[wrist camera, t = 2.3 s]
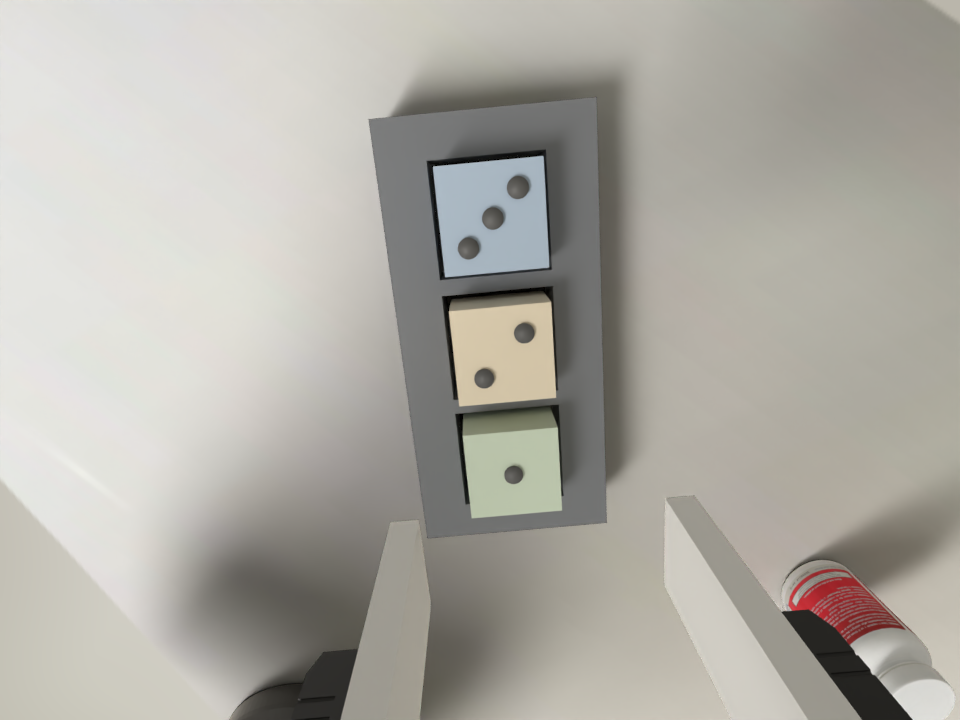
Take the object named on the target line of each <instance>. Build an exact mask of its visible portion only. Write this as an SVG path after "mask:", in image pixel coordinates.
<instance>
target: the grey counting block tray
mask: <svg viewBox="0 0 960 720" xmlns="http://www.w3.org/2000/svg"><path fill="white" fill-rule="evenodd" d="M369 126H370V133H371V140H372V147H373V154H374V161H375V168H376V175H377V182H378V190H379V197H380V204H381V211H382V218H383V225H384V232H385V239H386V246H387V254H388V261H389V268H390V275H391V282H392V289H393V296H394V303H395V310H396V318H397V325H398V332H399V339H400V346H401V353H402V360H403V367H404V374H405V381H406V389H407V396H408V403H409V410H410V417H411V424H412V431H413V438H414V445H415V453H416V460H417V467H418V474H419V481H420V488H421V495H422V502H423V509H424V517H425V524H426V531H427V538H439V537H450V536H461V535H473V534H484V533H496V532H507V531H519V530H530V529H541V528H553V527H564V526H576V525H587V524H599V523H607V514H606V473H605V431H604V389H603V348H602V306H601V264H600V223H599V181H598V139H597V98H596V97H591V98H581V99H570V100H560V101H550V102H540V103H529V104H519V105H509V106H499V107H488V108H478V109H468V110H458V111H447V112H437V113H427V114H417V115H406V116H396V117H386V118H376V119H369ZM529 155H538V156H544V174H545V193H546V212H547V231H548V250H549V268H540V269H529V270H518V271H508V272H497V273H486V274H476V275H465V276H454V277H445V273H444V272H443V266H442V257H441V248H440V239H439V230H438V221H437V212H436V203H435V194H434V185H433V176H432V167H431V165H436V164H446V163H457V162H467V161H477V160H488V159H498V158H508V157H519V156H529ZM536 287H545V293H546V296H547V297H548V298H549V300H550V301H551V308H552V327H553V346H554V365H555V384H556V398H548V399H537V400H526V401H515V402H504V403H493V404H482V405H471V406H460V407H459V399H458V390H457V381H456V380H455V373H454V364H453V355H452V346H451V337H450V328H449V319H448V310H447V301H446V296H450V295H461V294H472V293H482V292H493V291H504V290H514V289H525V288H536ZM548 405H552V413H553V416H554V419H555V421H556V424H557V427H558V442H559V461H560V480H561V499H562V511H551V512H540V513H528V514H517V515H505V516H494V517H483V518H472V517H471V508H470V499H469V490H468V481H467V476H466V472H465V463H464V454H463V445H462V436H461V427H460V418H459V413H471V412H482V411H493V410H504V409H515V408H526V407H537V406H548Z"/></svg>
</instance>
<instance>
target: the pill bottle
mask: <svg viewBox="0 0 960 720" xmlns="http://www.w3.org/2000/svg"><path fill="white" fill-rule="evenodd" d="M781 598H782V602H783V605H784V607H785V609H786V610H787V611H795V610H807V609H809V610H810V611H812V612H813V613H815V614H816V615H818V616H819V617H820V618H822V619H823V620H825V621H826V622H827V623H829V624H830V625H832V626H833V627H835V628H836V629H837V631H838V632H839V633H840V634H841V635H842V637H843V638H844V639H845V640H846V641H847V642H848V644H849V645H850V646H851V647H852V648H853V650H854V651H855V654H856V655H859V657H860V658H861V659H862V660H863V661H864V663H865V664H866V665H867V666H868V667H869V668H870V670H871V673H872V675H875V676H876V677H877V678H878V679H879V680H880V681H881V683H882V684H883V685H884V686H885V687H886V689H887V690H888V691H889V692H890V693H891V694H892V696H893V697H894V698H895V699H896V700H897V702H898V703H899V704H900V705H901V706H902V707H903V709H904V710H905V711H906V712H907V713H908V715H909V716H910V717H911V718H912V719H913V720H944V719H945V718H946V717H947V716H948V715H949V714H950V713H951V711H952V710H953V708H954V705H955V699H956V698H955V693H954V690H953V689H952V687H951V686H950V685H949V684H948V683H947V682H946V681H945V679H944V678H943V677H942V676H941V675H940V674H939V673H938V672H937V671H936V670H935V669H934V668H932V661H931V656H930V653H929V651H928V649H927V648H926V646H925V645H924V643H923V642H922V641H921V640H920V639H919V638H918V637H917V636H916V635H915V634H914V633H913V632H912V631H911V630H910V629H909V628H908V627H907V626H906V625H905V624H904V623H903V622H902V621H901V620H900V619H899V618H898V617H897V616H896V615H895V614H894V613H893V612H892V611H891V610H890V609H889V608H888V607H887V606H886V605H885V604H884V603H883V602H881V601H880V600H879V599H878V598H877V597H876V596H875V595H874V594H873V593H872V592H871V591H870V590H869V589H868V588H867V587H866V586H865V585H864V584H863V583H862V582H861V581H860V580H859V579H858V578H857V577H856V576H855V575H854V574H853V573H852V572H851V571H850V570H849V569H848V568H846V567H845V566H843V565H842V564H840V563H837V562H834V561H830V560H816V561H812V562H808V563H806V564H804V565H802V566H800V567H798V568H797V569H796V570H794V571H793V572H792V573H791V574H790V575H789V577H788V578H787V579H786V581H785V583H784V585H783V587H782V592H781Z"/></svg>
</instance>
